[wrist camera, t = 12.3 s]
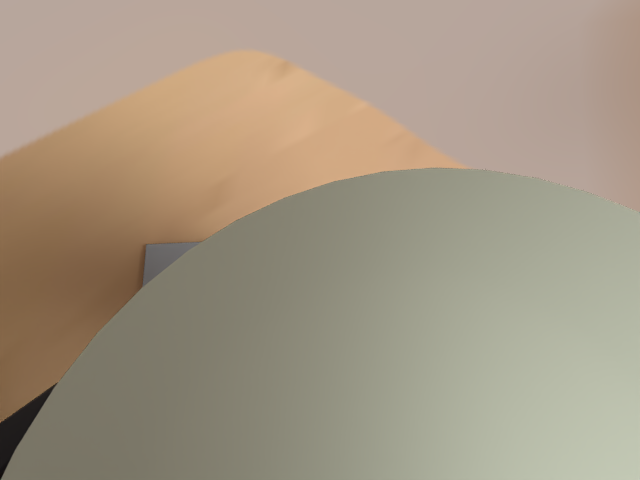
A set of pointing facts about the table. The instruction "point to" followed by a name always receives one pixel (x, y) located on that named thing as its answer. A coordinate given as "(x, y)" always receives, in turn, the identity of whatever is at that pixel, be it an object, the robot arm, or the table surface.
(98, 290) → the table surface
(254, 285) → the green bottle
